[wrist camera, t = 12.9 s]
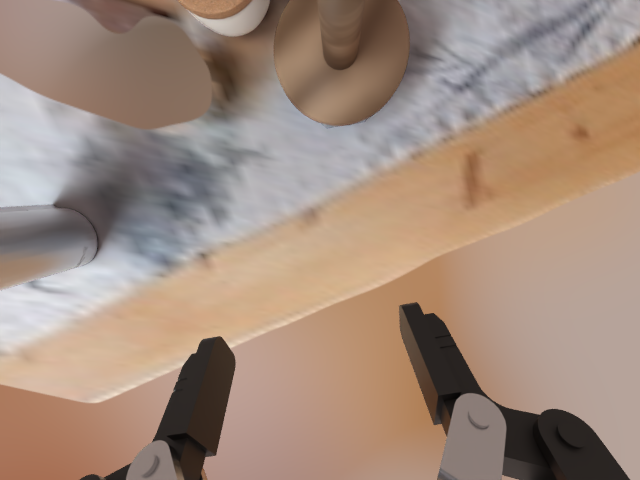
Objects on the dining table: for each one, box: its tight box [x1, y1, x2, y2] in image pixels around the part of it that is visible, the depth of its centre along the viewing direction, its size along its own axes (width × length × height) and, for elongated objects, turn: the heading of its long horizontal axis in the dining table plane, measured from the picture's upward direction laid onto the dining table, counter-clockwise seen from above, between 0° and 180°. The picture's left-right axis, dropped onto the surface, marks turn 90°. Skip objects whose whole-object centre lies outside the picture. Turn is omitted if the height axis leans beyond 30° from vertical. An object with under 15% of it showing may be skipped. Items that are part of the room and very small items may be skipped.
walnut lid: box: [274, 0, 410, 126], centre depth 23 cm, size 14×14×10 cm
